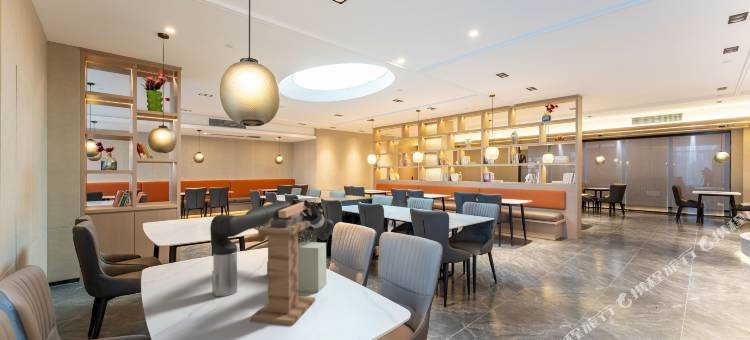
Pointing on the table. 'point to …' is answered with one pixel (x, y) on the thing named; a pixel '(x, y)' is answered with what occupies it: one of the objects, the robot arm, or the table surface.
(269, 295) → the stand
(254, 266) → the table surface
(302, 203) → the block
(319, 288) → the pedestal
